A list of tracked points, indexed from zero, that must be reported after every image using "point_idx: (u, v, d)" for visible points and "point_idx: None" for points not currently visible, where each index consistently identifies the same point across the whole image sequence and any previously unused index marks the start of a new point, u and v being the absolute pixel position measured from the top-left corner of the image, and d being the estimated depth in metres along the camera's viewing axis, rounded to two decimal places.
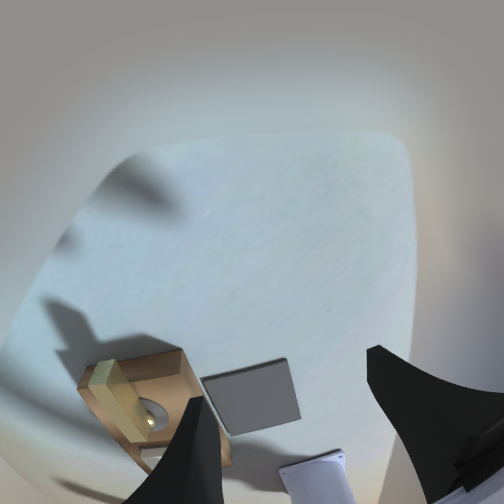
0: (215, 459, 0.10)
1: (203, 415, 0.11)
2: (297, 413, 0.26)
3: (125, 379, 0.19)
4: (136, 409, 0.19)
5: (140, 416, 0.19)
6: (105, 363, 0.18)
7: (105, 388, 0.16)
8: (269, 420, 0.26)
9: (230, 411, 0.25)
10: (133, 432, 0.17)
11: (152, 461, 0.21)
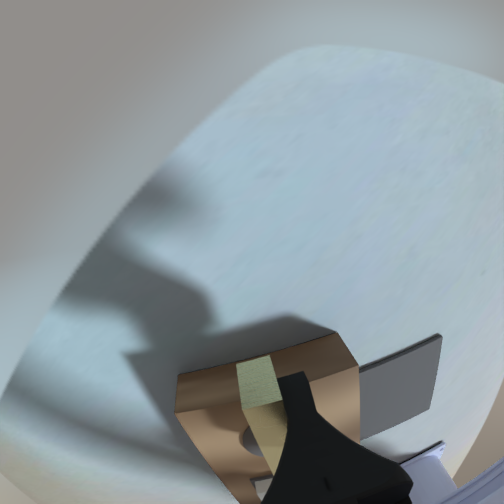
0: None
1: None
2: (428, 403, 0.20)
3: None
4: None
5: None
6: (255, 365, 0.12)
7: (278, 407, 0.10)
8: (400, 415, 0.19)
9: (366, 411, 0.18)
10: None
11: None
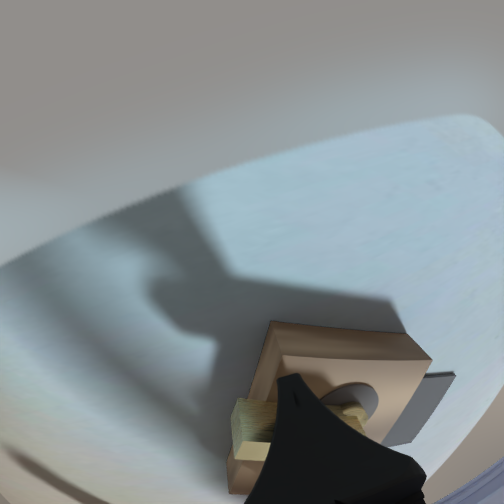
0: None
1: (298, 392, 0.11)
2: (414, 436, 0.21)
3: (275, 404, 0.13)
4: None
5: None
6: (234, 412, 0.13)
7: (250, 444, 0.10)
8: (393, 439, 0.20)
9: None
10: None
11: None
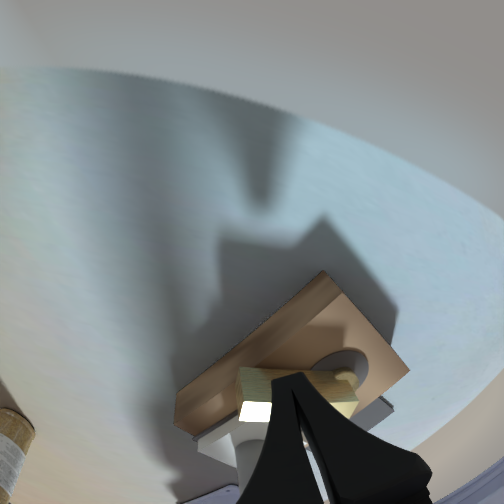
0: (302, 440, 0.10)
1: (292, 394, 0.11)
2: None
3: (272, 371, 0.15)
4: (315, 384, 0.15)
5: (327, 385, 0.15)
6: (237, 380, 0.15)
7: (251, 405, 0.13)
8: None
9: None
10: None
11: (258, 427, 0.16)
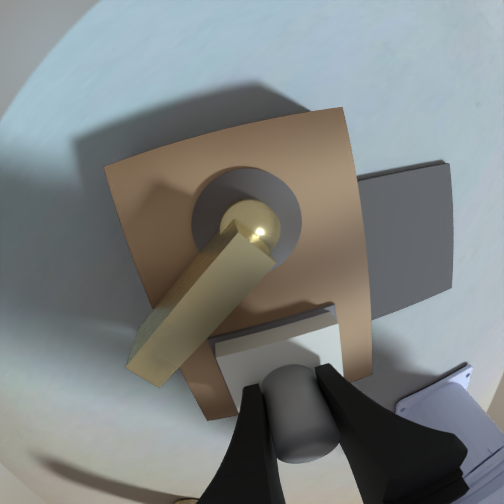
0: (273, 447, 0.10)
1: (262, 402, 0.11)
2: (450, 275, 0.17)
3: (161, 301, 0.11)
4: (193, 270, 0.10)
5: (205, 256, 0.10)
6: None
7: (135, 364, 0.09)
8: (418, 286, 0.16)
9: (372, 260, 0.15)
10: (225, 274, 0.09)
11: (242, 363, 0.12)
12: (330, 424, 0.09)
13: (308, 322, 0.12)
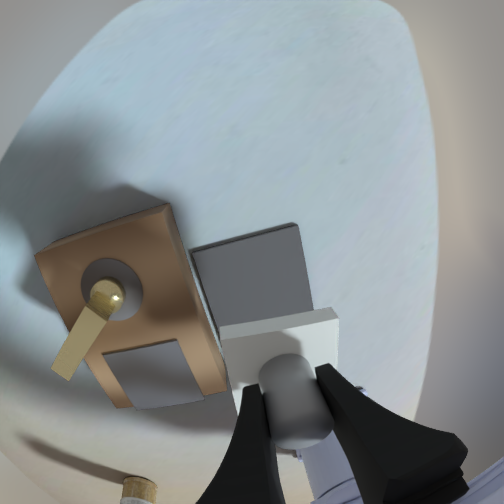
0: (272, 448, 0.10)
1: (262, 402, 0.11)
2: None
3: None
4: None
5: None
6: None
7: (54, 367, 0.15)
8: None
9: (226, 306, 0.21)
10: (84, 325, 0.14)
11: (244, 348, 0.12)
12: (327, 411, 0.10)
13: (310, 314, 0.13)
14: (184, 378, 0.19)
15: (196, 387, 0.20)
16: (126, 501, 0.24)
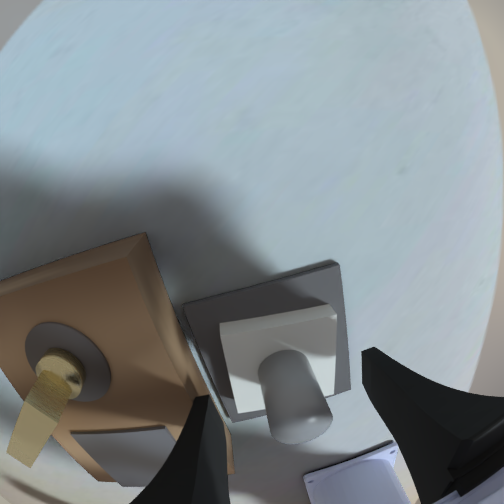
0: (221, 458, 0.10)
1: (209, 413, 0.11)
2: (346, 379, 0.15)
3: None
4: None
5: None
6: None
7: (10, 452, 0.08)
8: None
9: None
10: (30, 421, 0.08)
11: (243, 344, 0.13)
12: (325, 405, 0.10)
13: (308, 311, 0.13)
14: None
15: None
16: None
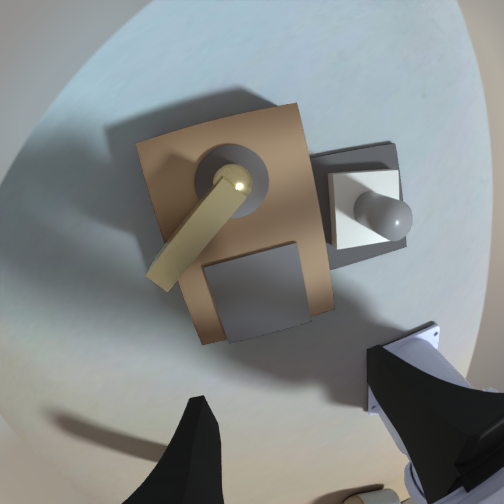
0: (215, 459, 0.10)
1: (203, 414, 0.11)
2: None
3: None
4: (194, 208, 0.15)
5: (203, 198, 0.15)
6: None
7: (152, 273, 0.14)
8: None
9: None
10: (215, 205, 0.14)
11: (346, 183, 0.19)
12: (407, 205, 0.16)
13: (380, 169, 0.20)
14: (296, 292, 0.19)
15: (306, 304, 0.19)
16: None
